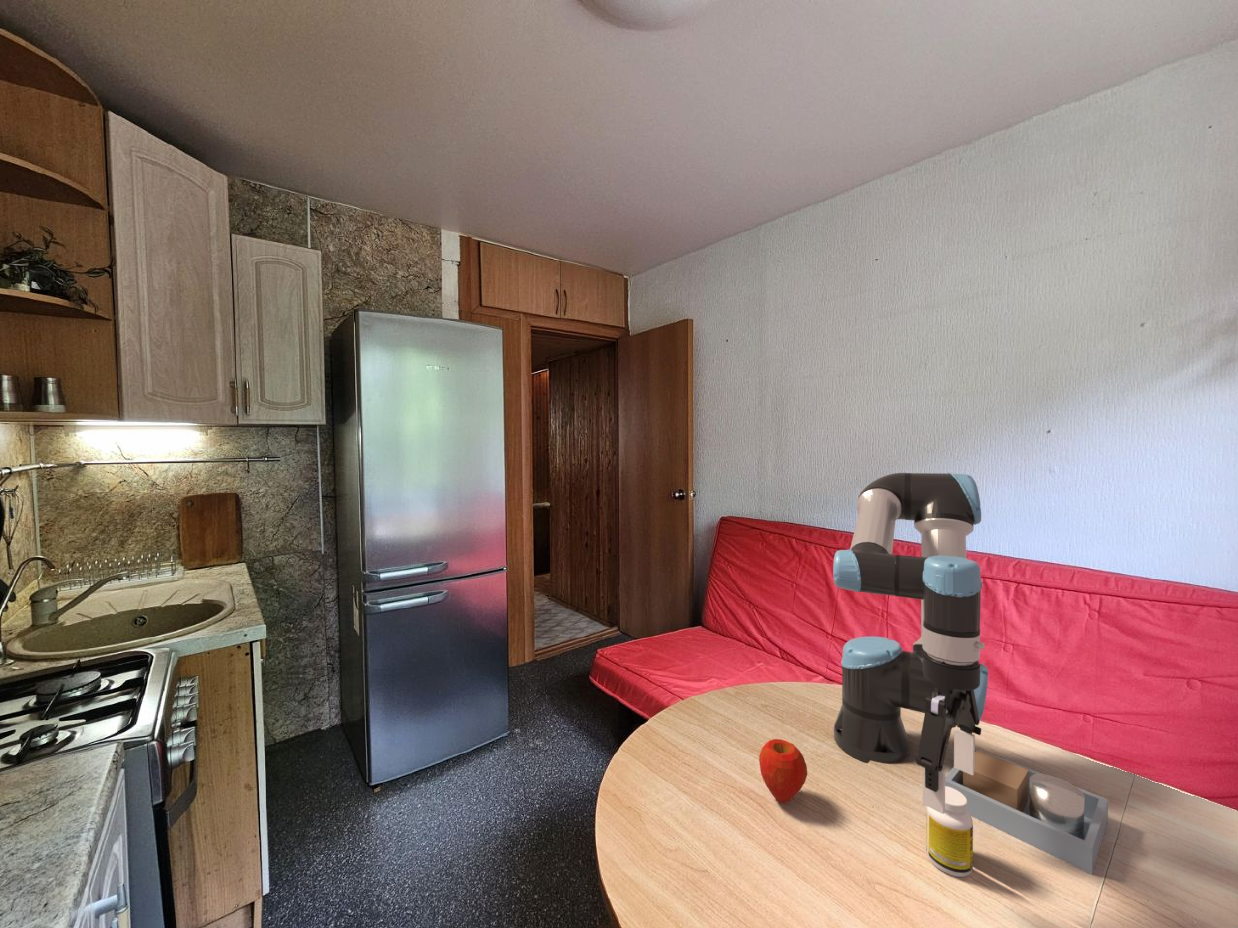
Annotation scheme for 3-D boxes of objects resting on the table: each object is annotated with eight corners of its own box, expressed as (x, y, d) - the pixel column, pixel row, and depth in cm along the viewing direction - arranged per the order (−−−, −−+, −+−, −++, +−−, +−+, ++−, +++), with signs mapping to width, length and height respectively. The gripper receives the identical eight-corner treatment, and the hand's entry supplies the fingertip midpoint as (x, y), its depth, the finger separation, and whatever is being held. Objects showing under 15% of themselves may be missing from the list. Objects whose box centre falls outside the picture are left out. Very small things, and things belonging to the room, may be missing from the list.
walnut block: (962, 797, 91) (963, 766, 91) (976, 779, 96) (976, 749, 96) (1016, 822, 85) (1017, 789, 85) (1028, 801, 90) (1028, 769, 90)
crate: (942, 806, 91) (943, 779, 90) (971, 769, 101) (971, 745, 100) (1091, 879, 75) (1092, 847, 75) (1107, 827, 85) (1108, 799, 85)
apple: (813, 797, 93) (813, 742, 93) (795, 823, 87) (795, 764, 87) (771, 777, 99) (771, 725, 99) (751, 800, 93) (750, 744, 92)
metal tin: (1024, 825, 85) (1025, 785, 85) (1034, 805, 89) (1035, 768, 89) (1079, 850, 79) (1080, 808, 79) (1087, 828, 84) (1088, 789, 83)
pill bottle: (980, 882, 75) (981, 811, 74) (935, 875, 76) (936, 806, 76) (961, 849, 81) (961, 784, 81) (919, 843, 82) (920, 779, 82)
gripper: (950, 689, 67) (949, 842, 67) (1002, 643, 82) (1001, 767, 83) (891, 670, 72) (891, 811, 73) (951, 630, 88) (950, 747, 89)
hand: (949, 788), depth 78 cm, fingers open, 13 cm apart
